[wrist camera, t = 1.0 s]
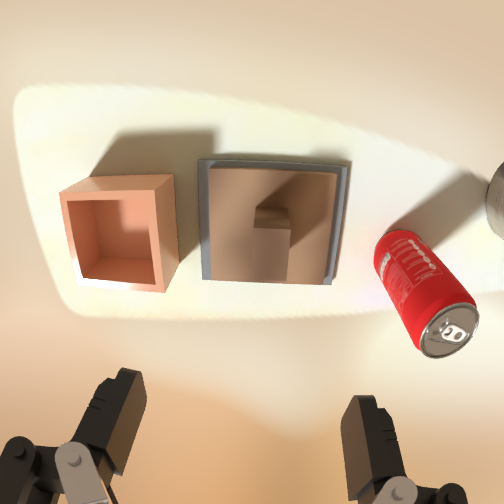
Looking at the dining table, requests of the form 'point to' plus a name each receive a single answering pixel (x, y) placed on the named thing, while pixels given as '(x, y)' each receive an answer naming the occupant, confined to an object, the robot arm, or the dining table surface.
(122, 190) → the open salmon box
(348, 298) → the dining table surface
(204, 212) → the mat
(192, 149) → the dining table surface
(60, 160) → the dining table surface
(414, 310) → the beverage can
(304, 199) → the lid
